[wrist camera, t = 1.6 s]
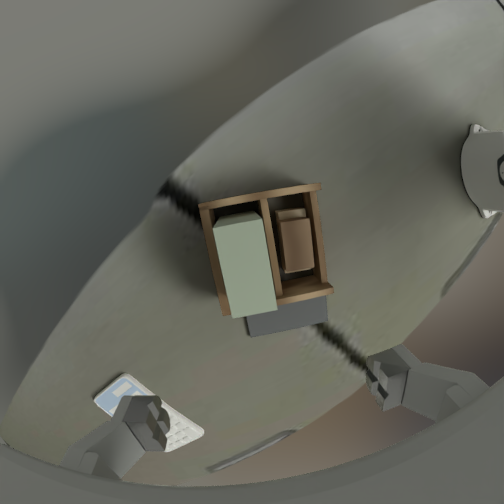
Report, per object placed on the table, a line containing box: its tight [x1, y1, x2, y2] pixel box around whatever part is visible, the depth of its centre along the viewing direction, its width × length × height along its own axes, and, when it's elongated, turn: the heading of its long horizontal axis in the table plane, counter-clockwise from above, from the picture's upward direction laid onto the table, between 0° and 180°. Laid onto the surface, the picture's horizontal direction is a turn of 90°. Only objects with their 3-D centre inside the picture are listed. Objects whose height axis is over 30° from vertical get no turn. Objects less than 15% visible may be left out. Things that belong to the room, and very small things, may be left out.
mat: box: [246, 295, 328, 337], centre depth 39 cm, size 12×7×1 cm, turn 100°
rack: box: [198, 183, 334, 316], centre depth 34 cm, size 14×14×6 cm
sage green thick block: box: [213, 211, 278, 318], centre depth 31 cm, size 4×9×12 cm, turn 10°
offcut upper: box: [277, 217, 314, 272], centre depth 33 cm, size 4×6×2 cm, turn 9°
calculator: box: [94, 373, 204, 452], centre depth 43 cm, size 13×20×2 cm, turn 41°
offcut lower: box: [275, 207, 311, 273], centre depth 36 cm, size 4×8×3 cm, turn 8°
